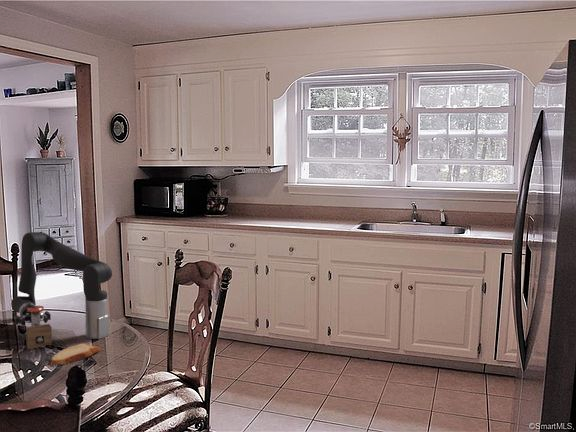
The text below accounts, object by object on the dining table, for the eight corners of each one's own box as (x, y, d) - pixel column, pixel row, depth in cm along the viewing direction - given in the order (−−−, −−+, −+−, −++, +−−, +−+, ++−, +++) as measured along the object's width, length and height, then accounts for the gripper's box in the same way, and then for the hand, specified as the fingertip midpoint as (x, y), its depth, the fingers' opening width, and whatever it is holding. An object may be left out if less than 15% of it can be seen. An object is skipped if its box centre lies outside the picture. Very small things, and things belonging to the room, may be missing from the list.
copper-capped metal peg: (26, 338, 226) (26, 306, 225) (42, 336, 230) (42, 305, 228) (32, 349, 215) (31, 315, 214) (48, 346, 219) (48, 313, 217)
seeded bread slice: (48, 367, 199) (48, 358, 199) (55, 350, 216) (55, 342, 216) (98, 364, 204) (98, 355, 204) (100, 348, 221) (100, 339, 221)
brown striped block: (26, 345, 219) (26, 327, 218) (49, 342, 224) (49, 323, 224) (28, 349, 215) (27, 330, 214) (51, 345, 220) (51, 327, 219)
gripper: (11, 306, 234) (16, 316, 221) (45, 302, 243) (52, 311, 229) (12, 322, 235) (17, 333, 222) (46, 318, 243) (53, 327, 230)
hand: (35, 322), depth 226 cm, fingers open, 8 cm apart
